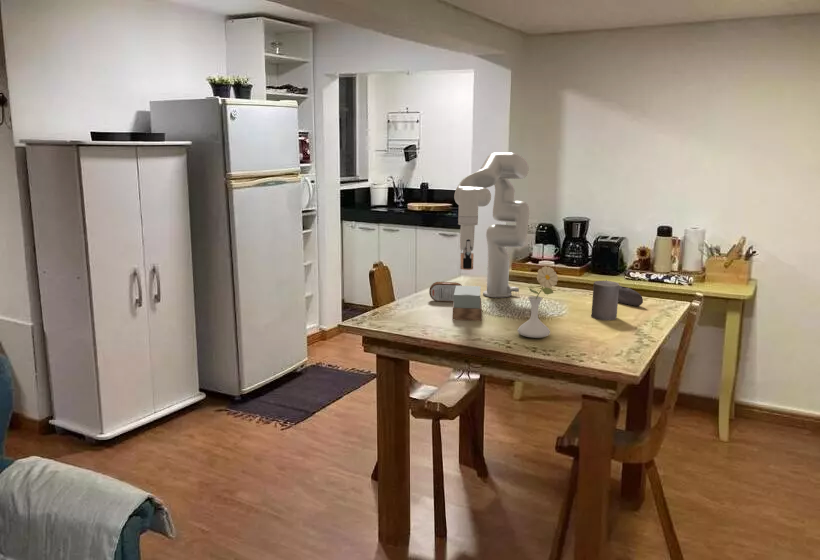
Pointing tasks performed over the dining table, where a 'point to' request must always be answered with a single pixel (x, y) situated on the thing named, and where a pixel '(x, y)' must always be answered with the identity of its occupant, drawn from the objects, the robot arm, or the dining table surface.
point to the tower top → (467, 297)
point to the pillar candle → (605, 300)
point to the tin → (443, 291)
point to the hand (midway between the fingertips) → (466, 266)
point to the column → (462, 261)
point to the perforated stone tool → (629, 296)
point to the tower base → (467, 313)
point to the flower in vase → (534, 325)
